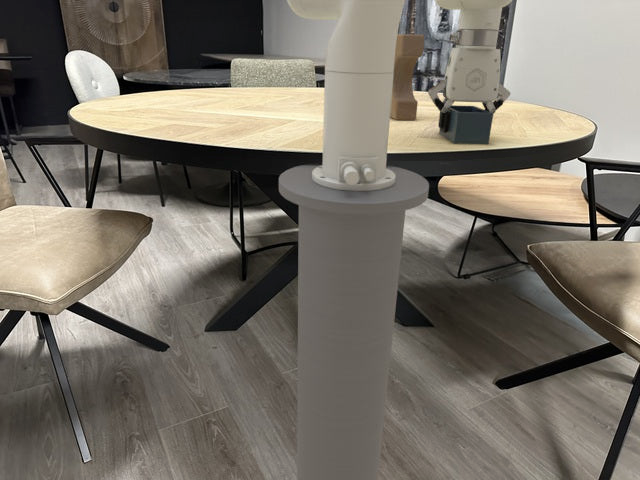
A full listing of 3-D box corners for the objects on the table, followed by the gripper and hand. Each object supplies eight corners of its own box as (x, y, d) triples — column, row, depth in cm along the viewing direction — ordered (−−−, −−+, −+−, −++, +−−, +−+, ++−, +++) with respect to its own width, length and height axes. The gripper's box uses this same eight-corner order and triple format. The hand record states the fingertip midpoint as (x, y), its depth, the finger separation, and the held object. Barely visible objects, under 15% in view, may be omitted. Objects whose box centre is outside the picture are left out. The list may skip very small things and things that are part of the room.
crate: (488, 144, 94) (493, 113, 91) (453, 143, 93) (458, 112, 91) (470, 133, 104) (474, 105, 101) (438, 133, 103) (442, 105, 101)
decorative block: (416, 120, 119) (425, 34, 111) (394, 120, 118) (402, 33, 111) (402, 114, 129) (410, 34, 122) (382, 113, 129) (389, 34, 121)
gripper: (437, 39, 87) (426, 134, 94) (529, 42, 88) (511, 136, 95) (427, 39, 94) (418, 128, 101) (512, 41, 95) (497, 129, 102)
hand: (463, 131), depth 98 cm, fingers open, 7 cm apart
